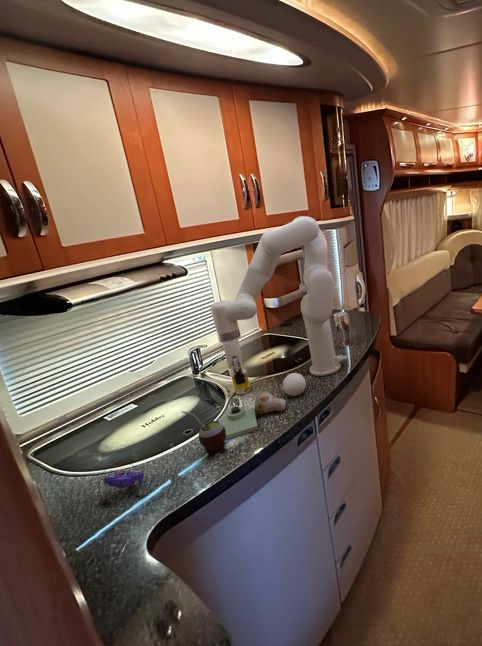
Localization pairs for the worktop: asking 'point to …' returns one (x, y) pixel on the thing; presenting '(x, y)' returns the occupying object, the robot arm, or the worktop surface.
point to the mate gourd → (211, 435)
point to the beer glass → (342, 328)
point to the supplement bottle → (244, 386)
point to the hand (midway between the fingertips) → (240, 379)
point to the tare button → (235, 410)
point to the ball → (294, 384)
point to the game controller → (122, 479)
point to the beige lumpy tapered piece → (268, 403)
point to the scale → (239, 422)
